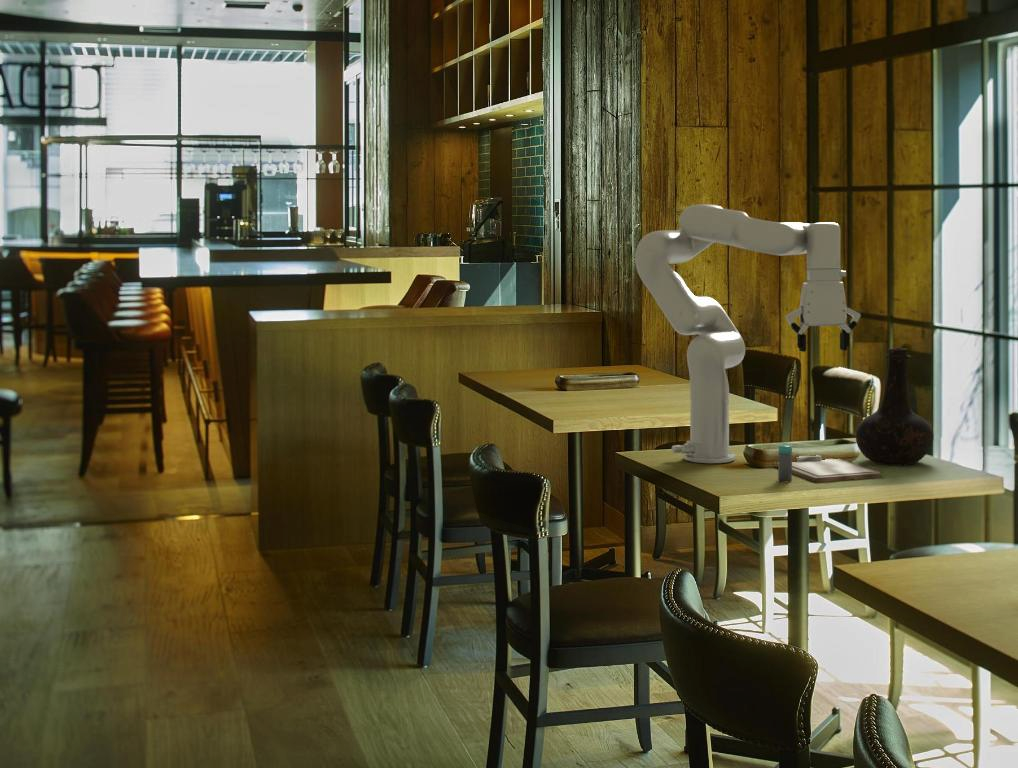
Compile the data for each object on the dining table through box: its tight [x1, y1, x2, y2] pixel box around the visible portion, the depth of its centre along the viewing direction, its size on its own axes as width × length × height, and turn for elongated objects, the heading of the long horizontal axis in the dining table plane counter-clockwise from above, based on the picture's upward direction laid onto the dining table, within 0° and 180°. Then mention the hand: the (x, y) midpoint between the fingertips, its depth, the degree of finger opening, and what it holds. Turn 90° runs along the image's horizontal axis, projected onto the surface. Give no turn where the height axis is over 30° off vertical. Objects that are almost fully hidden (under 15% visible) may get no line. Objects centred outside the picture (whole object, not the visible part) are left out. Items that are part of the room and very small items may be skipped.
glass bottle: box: [855, 347, 934, 466], centre depth 305 cm, size 18×18×28 cm
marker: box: [777, 444, 793, 483], centre depth 286 cm, size 3×3×8 cm
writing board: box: [777, 454, 883, 483], centre depth 296 cm, size 17×20×2 cm
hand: (823, 350), depth 292 cm, fingers open, 9 cm apart
